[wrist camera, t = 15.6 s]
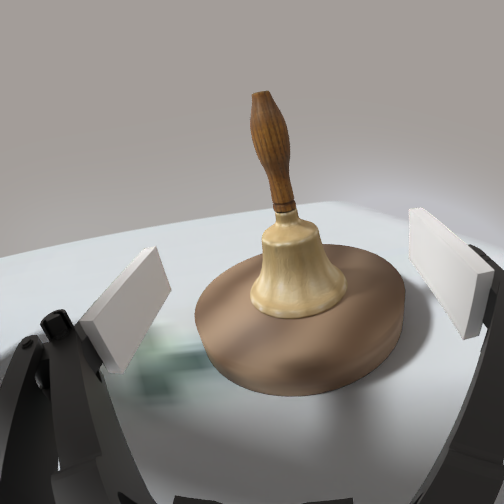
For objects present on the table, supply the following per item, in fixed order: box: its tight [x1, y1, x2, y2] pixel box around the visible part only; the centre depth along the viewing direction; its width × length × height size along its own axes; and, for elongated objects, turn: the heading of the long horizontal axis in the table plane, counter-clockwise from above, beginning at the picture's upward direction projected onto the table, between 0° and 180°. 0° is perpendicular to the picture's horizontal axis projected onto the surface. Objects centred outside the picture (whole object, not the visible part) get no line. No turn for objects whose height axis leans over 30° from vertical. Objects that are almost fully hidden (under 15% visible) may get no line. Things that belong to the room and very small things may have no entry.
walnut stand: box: [195, 244, 405, 396], centre depth 26 cm, size 18×18×3 cm
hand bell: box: [250, 91, 348, 319], centre depth 22 cm, size 8×8×16 cm
